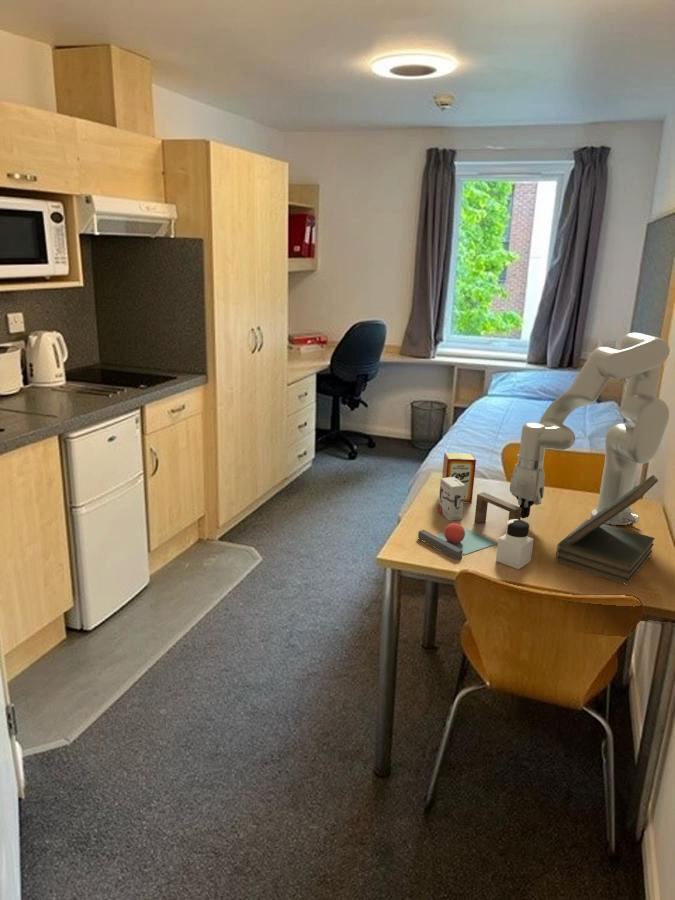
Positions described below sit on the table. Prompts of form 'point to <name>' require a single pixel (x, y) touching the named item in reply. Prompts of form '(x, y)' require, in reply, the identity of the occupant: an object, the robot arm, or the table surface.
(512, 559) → the medicine bottle
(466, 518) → the table surface
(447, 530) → the ball
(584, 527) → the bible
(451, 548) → the stopper wall
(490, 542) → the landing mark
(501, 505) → the bridge
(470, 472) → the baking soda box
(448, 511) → the ink box
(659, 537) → the table surface
